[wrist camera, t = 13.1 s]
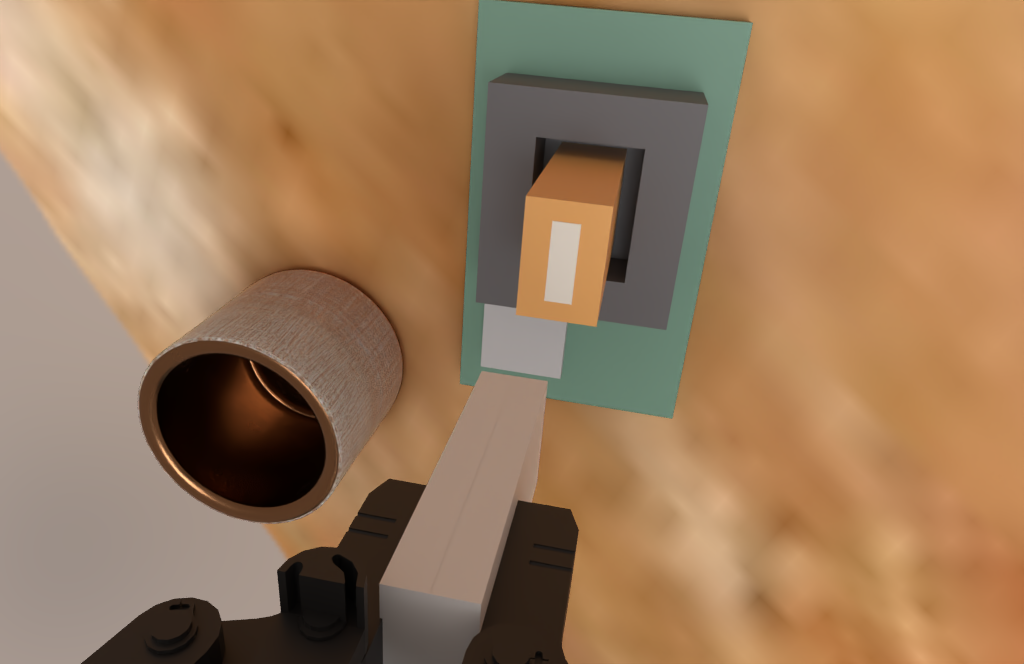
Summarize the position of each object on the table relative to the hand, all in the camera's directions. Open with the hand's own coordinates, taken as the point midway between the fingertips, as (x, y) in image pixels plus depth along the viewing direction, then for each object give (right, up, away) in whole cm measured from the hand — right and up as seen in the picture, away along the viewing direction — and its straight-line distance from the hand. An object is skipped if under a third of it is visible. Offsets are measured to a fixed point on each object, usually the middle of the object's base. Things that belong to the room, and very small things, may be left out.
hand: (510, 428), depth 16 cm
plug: (+4, +9, +18) cm, 20 cm away
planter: (-11, +1, +27) cm, 30 cm away
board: (+4, +8, +21) cm, 22 cm away
